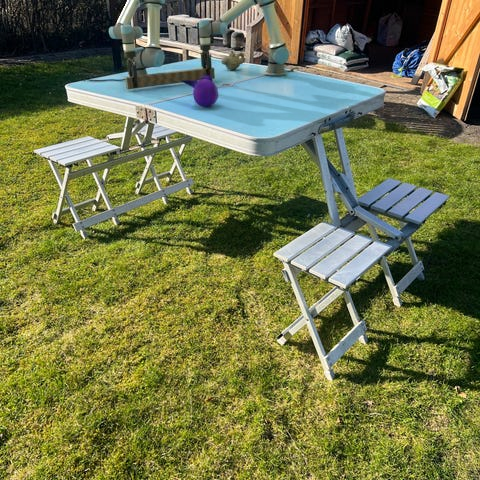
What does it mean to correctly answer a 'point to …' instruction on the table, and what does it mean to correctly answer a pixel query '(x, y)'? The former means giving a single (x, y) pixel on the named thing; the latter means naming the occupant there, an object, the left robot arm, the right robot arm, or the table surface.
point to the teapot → (233, 61)
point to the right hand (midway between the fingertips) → (207, 77)
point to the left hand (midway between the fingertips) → (134, 86)
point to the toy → (204, 91)
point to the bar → (168, 78)
